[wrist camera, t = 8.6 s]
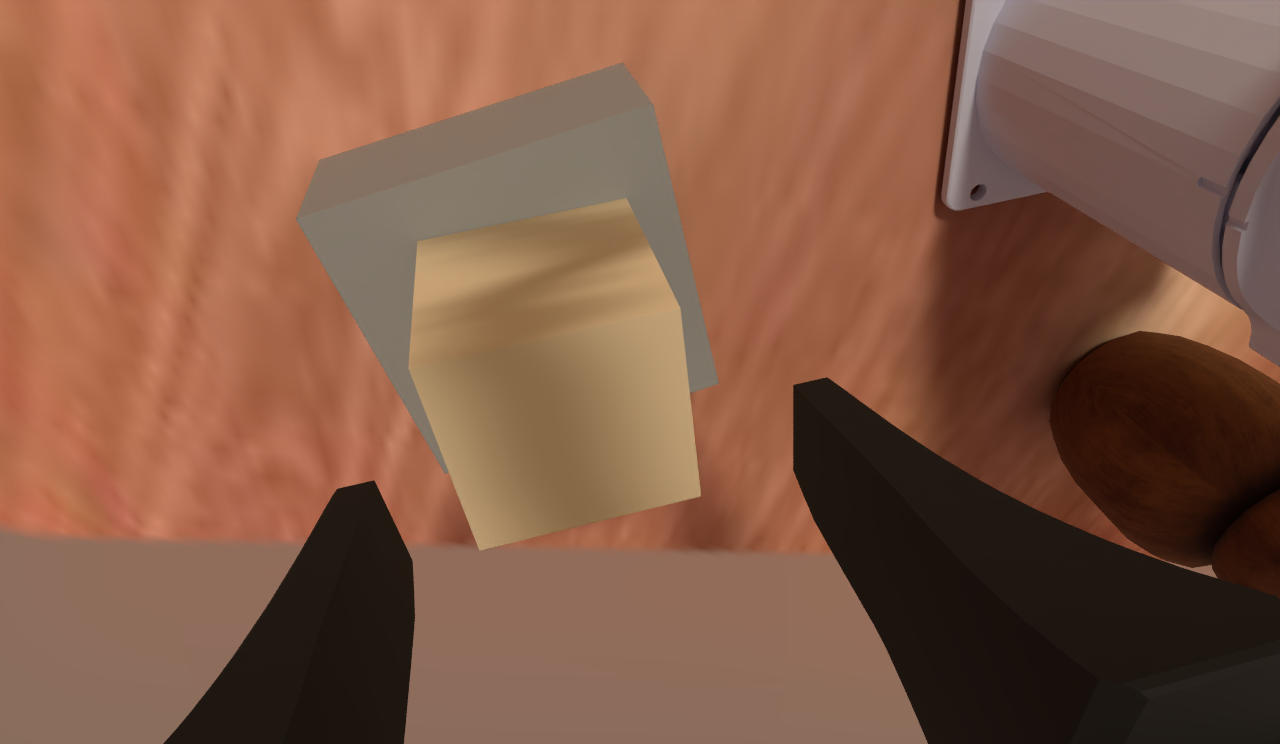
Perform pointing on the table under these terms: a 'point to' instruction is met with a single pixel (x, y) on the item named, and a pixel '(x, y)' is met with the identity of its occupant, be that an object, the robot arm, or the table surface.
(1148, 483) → the wooden figurine
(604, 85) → the slate base block
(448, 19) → the table surface
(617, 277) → the maple cube
